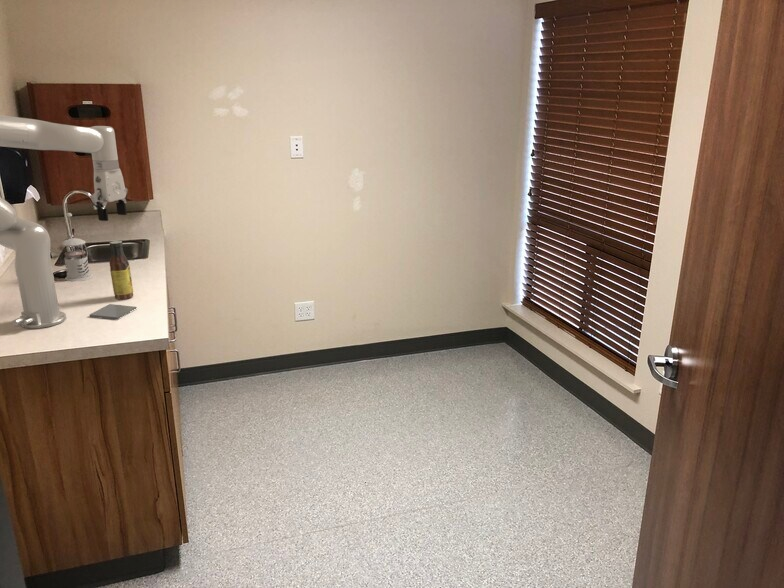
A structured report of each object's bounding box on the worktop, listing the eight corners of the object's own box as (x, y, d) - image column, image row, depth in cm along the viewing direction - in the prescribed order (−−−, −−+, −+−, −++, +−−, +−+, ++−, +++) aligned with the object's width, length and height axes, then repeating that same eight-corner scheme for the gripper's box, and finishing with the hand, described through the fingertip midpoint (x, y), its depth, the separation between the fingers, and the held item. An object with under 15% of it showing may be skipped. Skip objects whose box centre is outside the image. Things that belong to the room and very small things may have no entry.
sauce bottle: (137, 297, 208) (130, 242, 202) (119, 301, 204) (111, 245, 197) (128, 293, 212) (121, 238, 206) (111, 297, 208) (103, 241, 202)
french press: (59, 281, 223) (47, 215, 215) (76, 271, 234) (66, 209, 226) (84, 281, 223) (74, 216, 215) (100, 272, 234) (91, 209, 226)
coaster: (117, 319, 189) (117, 317, 188) (89, 316, 190) (89, 314, 190) (136, 309, 198) (136, 306, 197) (110, 306, 200) (109, 303, 199)
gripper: (98, 169, 185) (106, 223, 190) (132, 163, 201) (138, 213, 206) (77, 168, 186) (85, 222, 192) (112, 162, 202) (119, 211, 208)
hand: (113, 217), depth 199 cm, fingers open, 9 cm apart
